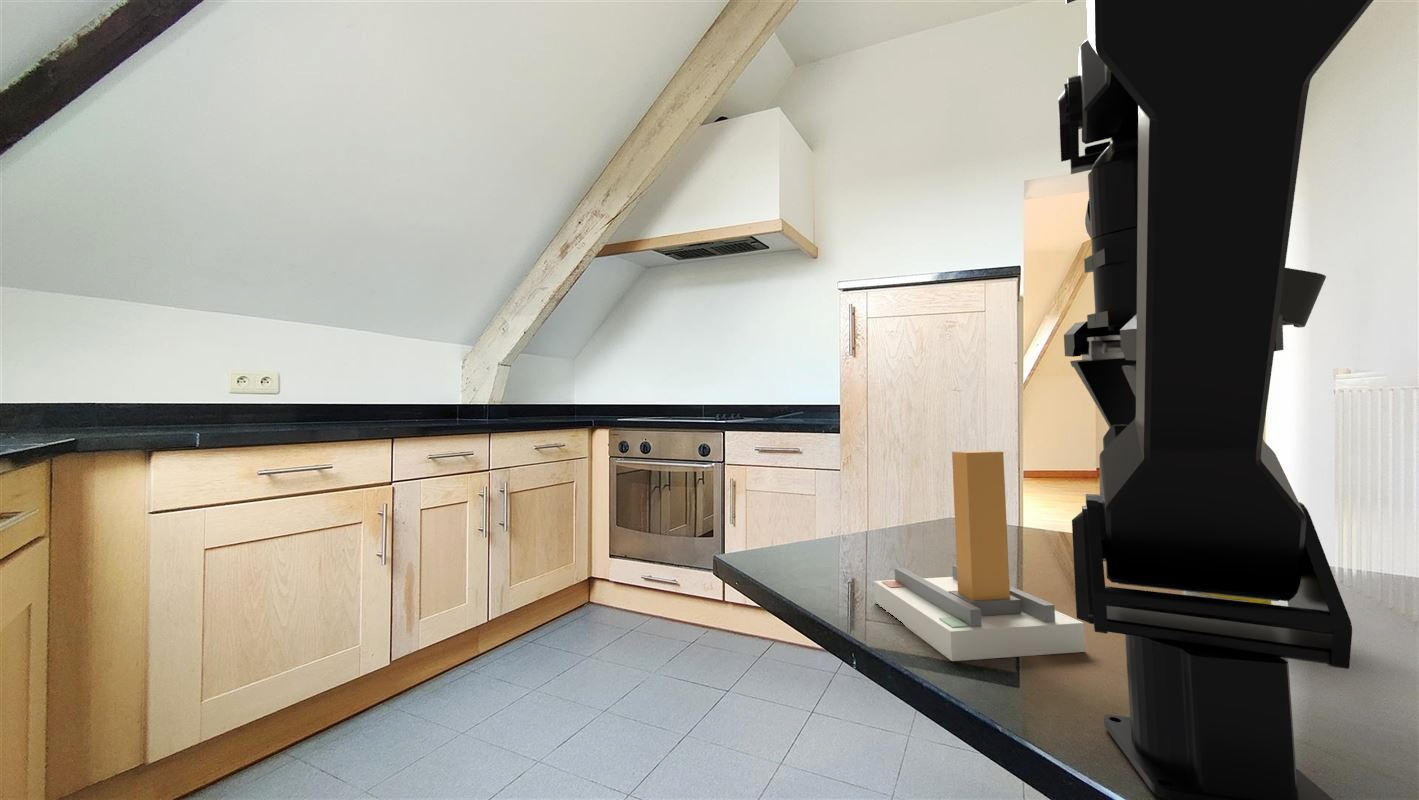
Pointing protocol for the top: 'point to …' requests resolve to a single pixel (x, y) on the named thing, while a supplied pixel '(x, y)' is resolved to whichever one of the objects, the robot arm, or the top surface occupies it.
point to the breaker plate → (976, 620)
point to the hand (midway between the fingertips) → (1152, 459)
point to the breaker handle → (982, 532)
